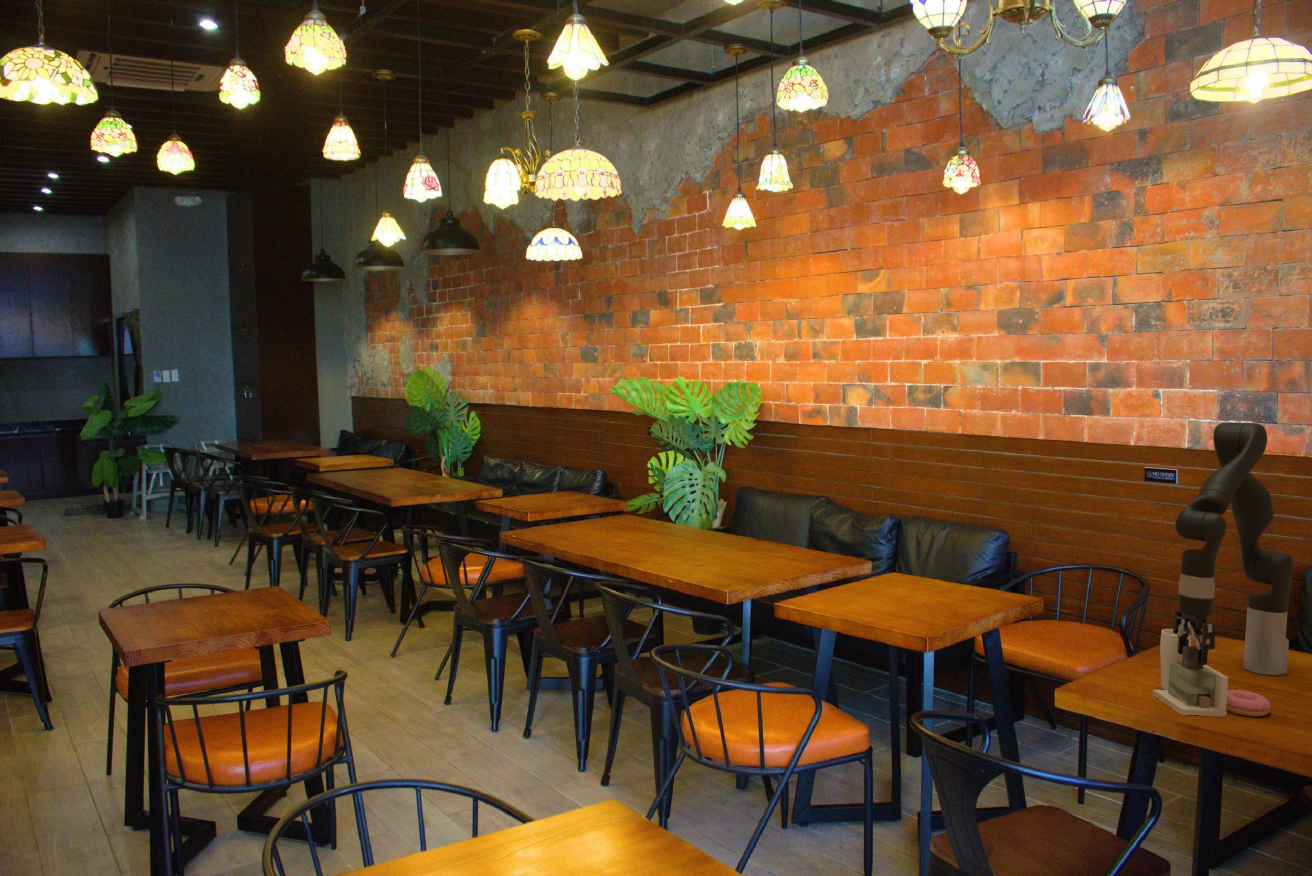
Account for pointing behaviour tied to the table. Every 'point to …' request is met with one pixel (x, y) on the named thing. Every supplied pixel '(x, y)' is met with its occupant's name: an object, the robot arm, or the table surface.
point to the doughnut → (1247, 703)
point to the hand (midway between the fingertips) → (1191, 659)
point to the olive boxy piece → (1190, 678)
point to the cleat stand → (1200, 699)
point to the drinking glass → (1168, 654)
